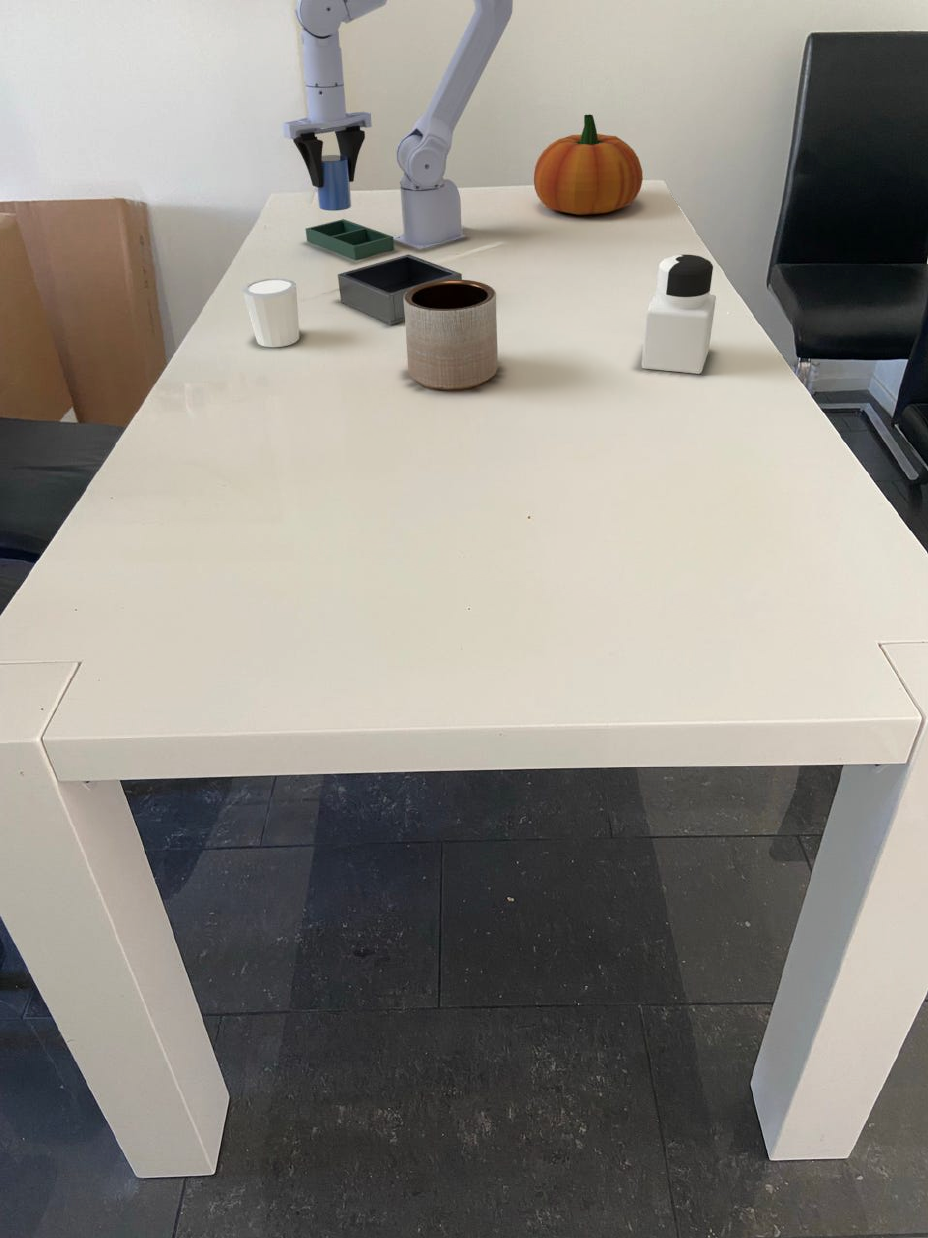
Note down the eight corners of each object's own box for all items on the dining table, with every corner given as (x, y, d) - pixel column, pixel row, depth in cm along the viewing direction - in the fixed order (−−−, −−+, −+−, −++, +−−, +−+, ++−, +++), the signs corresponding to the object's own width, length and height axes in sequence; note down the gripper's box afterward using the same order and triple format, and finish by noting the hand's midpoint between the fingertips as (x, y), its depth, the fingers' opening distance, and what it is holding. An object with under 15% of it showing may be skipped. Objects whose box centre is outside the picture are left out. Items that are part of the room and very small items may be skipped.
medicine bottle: (708, 351, 111) (722, 251, 104) (701, 375, 106) (714, 271, 98) (651, 346, 113) (660, 247, 106) (640, 368, 108) (649, 267, 100)
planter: (511, 362, 111) (511, 283, 105) (475, 398, 103) (473, 316, 97) (433, 350, 115) (428, 274, 109) (392, 384, 107) (385, 304, 101)
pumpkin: (627, 190, 171) (634, 101, 162) (650, 218, 156) (658, 121, 147) (527, 196, 171) (527, 107, 161) (540, 225, 156) (541, 128, 146)
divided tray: (345, 233, 156) (343, 218, 155) (394, 252, 147) (393, 236, 146) (307, 243, 153) (305, 228, 151) (355, 263, 143) (353, 247, 142)
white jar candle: (309, 329, 122) (301, 276, 118) (297, 349, 117) (288, 295, 112) (260, 329, 123) (250, 277, 118) (246, 349, 118) (235, 295, 113)
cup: (340, 200, 147) (336, 152, 143) (357, 206, 144) (354, 158, 140) (313, 205, 145) (307, 157, 140) (330, 212, 141) (325, 163, 137)
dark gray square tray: (410, 281, 136) (408, 253, 133) (463, 301, 128) (461, 273, 126) (340, 302, 130) (337, 274, 127) (391, 325, 122) (388, 295, 120)
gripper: (351, 76, 140) (358, 171, 148) (268, 86, 133) (280, 185, 141) (376, 81, 135) (382, 179, 144) (292, 92, 128) (303, 194, 137)
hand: (333, 183), depth 142 cm, fingers closed on cup, 5 cm apart
